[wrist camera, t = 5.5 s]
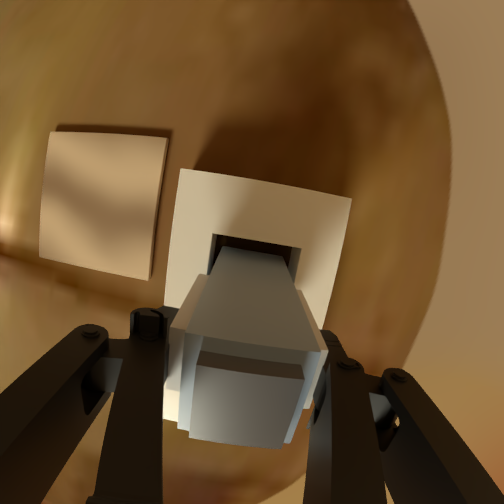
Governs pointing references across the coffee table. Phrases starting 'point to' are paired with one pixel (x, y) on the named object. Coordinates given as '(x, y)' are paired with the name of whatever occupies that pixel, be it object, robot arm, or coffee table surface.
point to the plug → (247, 354)
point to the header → (253, 236)
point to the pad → (102, 201)
